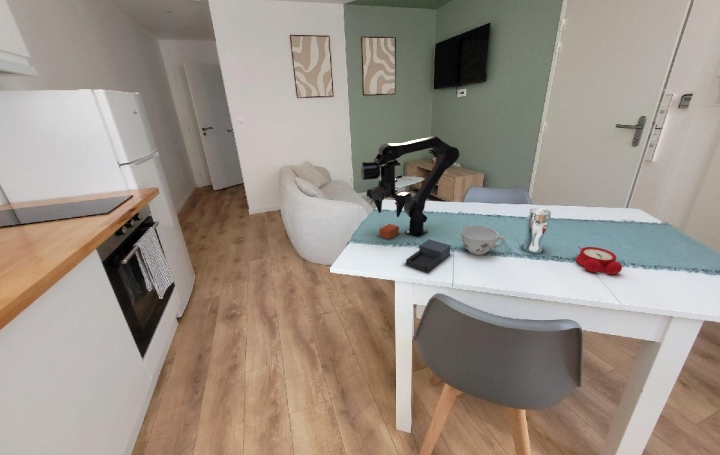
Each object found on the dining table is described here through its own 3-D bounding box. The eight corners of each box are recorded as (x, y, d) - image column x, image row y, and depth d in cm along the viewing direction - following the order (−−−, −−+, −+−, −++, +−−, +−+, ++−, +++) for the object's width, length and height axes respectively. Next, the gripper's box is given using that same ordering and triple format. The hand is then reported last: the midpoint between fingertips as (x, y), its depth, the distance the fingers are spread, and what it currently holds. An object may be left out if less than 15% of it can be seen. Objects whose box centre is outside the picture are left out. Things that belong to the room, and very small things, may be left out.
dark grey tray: (428, 248, 111) (428, 239, 110) (449, 255, 106) (450, 245, 104) (405, 265, 101) (405, 254, 99) (427, 273, 95) (428, 262, 94)
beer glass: (537, 245, 110) (545, 207, 104) (547, 253, 103) (556, 214, 97) (518, 245, 110) (525, 207, 104) (526, 253, 104) (534, 214, 98)
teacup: (459, 257, 104) (460, 237, 100) (458, 242, 115) (460, 224, 111) (505, 262, 99) (508, 241, 96) (500, 246, 110) (503, 226, 107)
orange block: (389, 230, 128) (389, 223, 127) (398, 233, 125) (398, 226, 124) (379, 236, 124) (379, 228, 122) (388, 239, 120) (388, 231, 119)
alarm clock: (609, 247, 98) (633, 259, 84) (605, 265, 99) (629, 279, 85) (573, 244, 101) (590, 255, 87) (570, 261, 102) (586, 274, 88)
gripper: (356, 179, 114) (358, 216, 120) (395, 185, 102) (396, 225, 108) (374, 173, 121) (375, 208, 127) (412, 178, 110) (412, 216, 116)
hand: (388, 214), depth 120 cm, fingers open, 9 cm apart
